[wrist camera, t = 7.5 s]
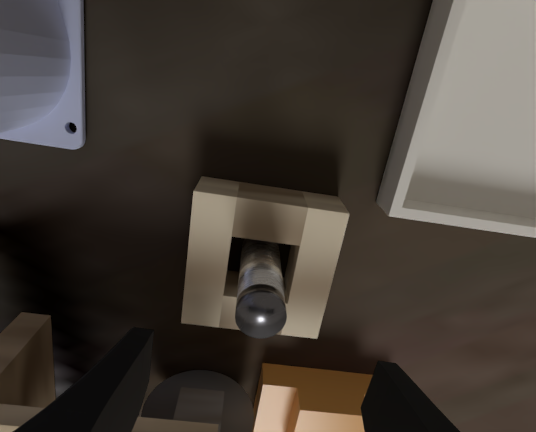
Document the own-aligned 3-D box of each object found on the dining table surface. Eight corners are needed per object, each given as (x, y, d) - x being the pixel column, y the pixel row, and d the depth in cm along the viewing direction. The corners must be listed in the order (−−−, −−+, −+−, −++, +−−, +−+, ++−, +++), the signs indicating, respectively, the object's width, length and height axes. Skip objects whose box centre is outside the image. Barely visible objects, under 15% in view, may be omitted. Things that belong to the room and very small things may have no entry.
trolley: (17, 304, 20) (-100, 415, 14) (262, 332, 22) (264, 448, 15) (28, 420, 24) (-63, 556, 17) (242, 439, 25) (236, 574, 18)
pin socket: (201, 176, 18) (193, 191, 16) (338, 196, 19) (349, 213, 16) (189, 295, 21) (180, 323, 18) (310, 309, 21) (317, 338, 19)
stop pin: (244, 228, 19) (238, 292, 14) (281, 233, 19) (290, 298, 14) (239, 262, 20) (232, 335, 14) (275, 266, 20) (282, 341, 14)
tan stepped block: (384, 372, 23) (405, 420, 20) (367, 421, 25) (384, 473, 22) (262, 359, 23) (263, 406, 20) (252, 410, 24) (251, 462, 21)
